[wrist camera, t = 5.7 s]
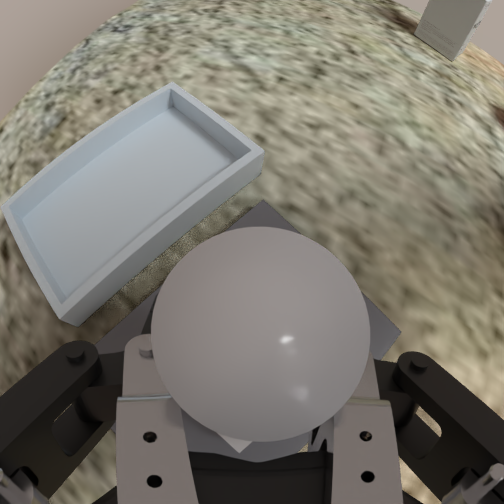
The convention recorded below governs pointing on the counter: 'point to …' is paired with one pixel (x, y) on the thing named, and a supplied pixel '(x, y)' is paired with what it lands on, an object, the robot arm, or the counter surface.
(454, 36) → the supplement box
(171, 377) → the white bottle
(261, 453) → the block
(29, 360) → the counter surface
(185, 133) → the tray
